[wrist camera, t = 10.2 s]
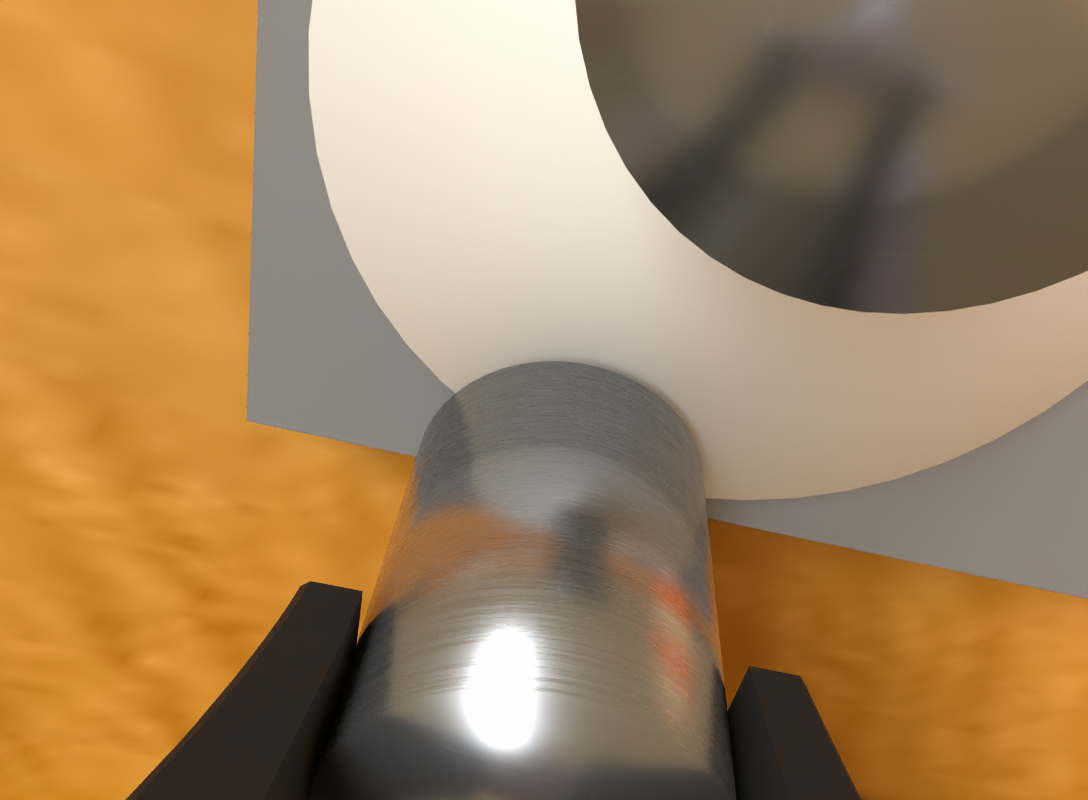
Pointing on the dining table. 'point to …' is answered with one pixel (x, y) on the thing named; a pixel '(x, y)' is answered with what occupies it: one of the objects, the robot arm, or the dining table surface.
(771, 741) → the robot arm
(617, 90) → the steel weight
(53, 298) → the dining table surface
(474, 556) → the steel weight
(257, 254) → the kitchen scale
